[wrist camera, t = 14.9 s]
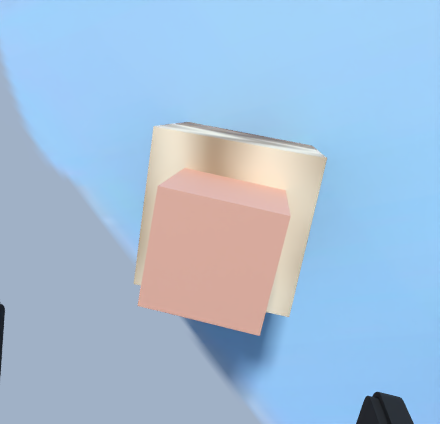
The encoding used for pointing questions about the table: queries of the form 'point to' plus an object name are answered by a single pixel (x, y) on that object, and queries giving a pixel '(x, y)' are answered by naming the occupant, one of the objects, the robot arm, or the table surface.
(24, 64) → the table surface
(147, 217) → the maple top block
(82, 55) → the table surface
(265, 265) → the terracotta cube
